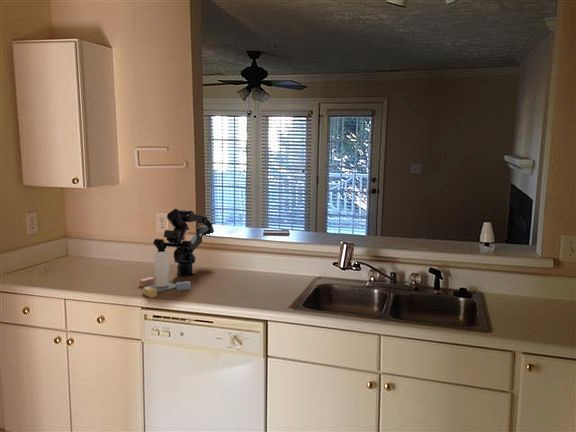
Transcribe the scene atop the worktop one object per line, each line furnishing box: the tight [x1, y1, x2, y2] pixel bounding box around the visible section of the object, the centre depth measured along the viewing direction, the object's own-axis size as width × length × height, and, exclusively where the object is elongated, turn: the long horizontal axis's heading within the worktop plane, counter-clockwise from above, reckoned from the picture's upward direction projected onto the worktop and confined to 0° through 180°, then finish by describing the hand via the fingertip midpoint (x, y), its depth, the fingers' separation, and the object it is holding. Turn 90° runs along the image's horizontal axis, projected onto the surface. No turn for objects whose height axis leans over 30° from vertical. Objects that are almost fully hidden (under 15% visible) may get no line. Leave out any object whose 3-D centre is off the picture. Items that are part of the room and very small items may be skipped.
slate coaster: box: [144, 281, 177, 294], centre depth 215 cm, size 11×11×1 cm
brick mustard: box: [142, 286, 158, 298], centre depth 205 cm, size 6×3×3 cm, turn 44°
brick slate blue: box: [175, 280, 192, 291], centre depth 214 cm, size 6×3×3 cm, turn 113°
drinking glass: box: [153, 251, 171, 287], centre depth 214 cm, size 7×7×15 cm
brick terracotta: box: [139, 276, 156, 288], centre depth 219 cm, size 6×3×3 cm, turn 142°
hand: (167, 260), depth 219 cm, fingers open, 9 cm apart
